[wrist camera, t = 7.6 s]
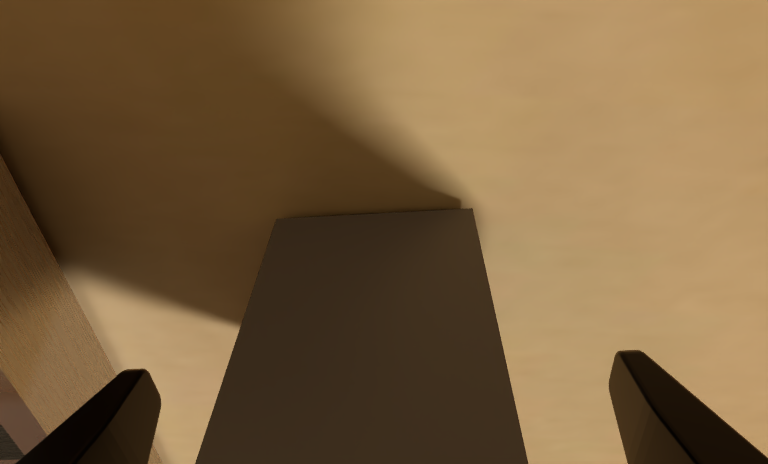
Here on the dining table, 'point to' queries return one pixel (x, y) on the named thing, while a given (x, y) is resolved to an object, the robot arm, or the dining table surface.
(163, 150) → the dining table surface
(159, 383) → the dining table surface
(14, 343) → the grey rectangular box
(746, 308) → the dining table surface
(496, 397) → the plug
